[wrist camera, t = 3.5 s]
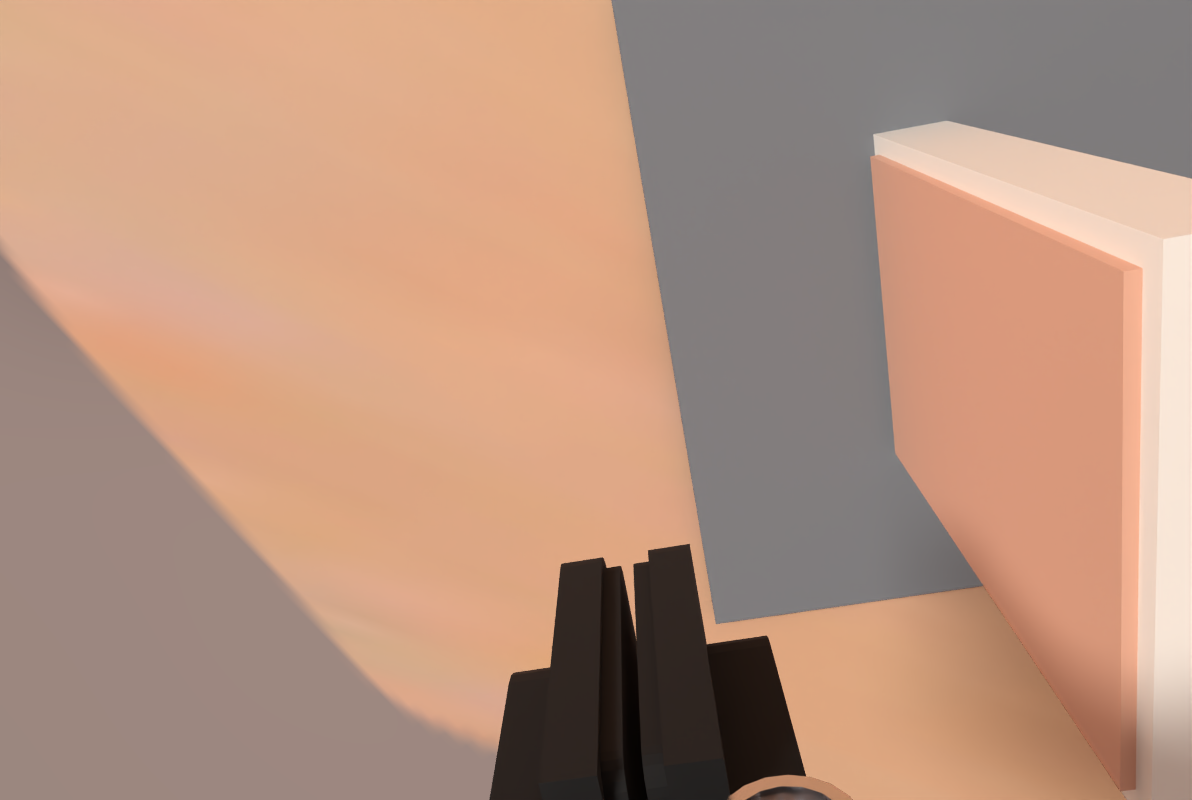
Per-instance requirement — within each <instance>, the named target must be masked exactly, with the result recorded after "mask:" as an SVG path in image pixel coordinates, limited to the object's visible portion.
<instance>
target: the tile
mask: <svg viewBox="0 0 1192 800" xmlns="http://www.w3.org/2000/svg"><path fill="white" fill-rule="evenodd" d="M873 137H874V149H875V156H870V160H871V172H872V184H873V196H874V208H875V220H876V232H877V243H878V255H879V267H880V279H881V291H882V303H883V315H884V326H885V338H886V350H887V362H888V374H889V386H890V398H891V409H892V421H893V433H894V445H895V454H896V455H897V457H898V458H899V460H900V461H901V463H902V464H903V466H904V467H905V469H906V470H907V472H908V473H909V475H910V476H911V478H912V479H913V481H914V482H915V484H916V485H917V487H918V488H919V490H920V491H921V493H922V494H923V496H924V497H925V499H926V500H927V502H928V503H929V505H930V506H931V508H932V509H933V511H934V512H935V514H936V515H937V517H938V518H939V520H940V521H941V523H942V524H943V526H944V527H945V529H946V530H947V532H948V533H949V535H950V536H951V538H952V539H953V541H954V542H955V544H956V545H957V547H958V548H959V550H960V551H961V553H962V554H963V556H964V557H965V559H966V560H967V562H968V563H969V565H970V566H971V568H972V569H973V571H974V572H975V574H976V575H977V577H978V578H979V580H980V581H981V583H982V584H983V586H984V587H985V589H986V590H987V592H988V593H989V595H990V596H991V598H992V599H993V601H994V602H995V604H996V605H997V607H998V608H999V610H1000V611H1001V613H1002V614H1003V616H1004V617H1005V619H1006V620H1007V622H1008V623H1009V625H1010V626H1011V628H1012V629H1013V631H1014V632H1015V634H1016V635H1017V637H1018V638H1019V640H1020V641H1021V643H1022V645H1023V646H1024V648H1025V649H1026V651H1027V652H1028V654H1029V655H1030V657H1031V658H1032V660H1033V661H1034V663H1035V664H1036V666H1037V667H1038V669H1039V670H1040V672H1041V673H1042V675H1043V676H1044V678H1045V679H1046V681H1047V682H1048V684H1049V685H1050V687H1051V688H1052V690H1053V691H1054V693H1055V694H1056V696H1057V697H1058V699H1059V700H1060V702H1061V703H1062V705H1063V706H1064V708H1065V709H1066V711H1067V712H1068V714H1069V715H1070V717H1071V718H1072V720H1073V721H1074V723H1075V724H1076V726H1077V727H1078V729H1079V730H1080V732H1081V733H1082V735H1083V736H1084V738H1085V739H1086V741H1087V742H1088V744H1089V745H1090V747H1091V748H1092V750H1093V751H1094V753H1095V754H1096V756H1097V757H1098V759H1099V760H1100V762H1101V763H1102V765H1103V766H1104V768H1105V769H1106V771H1107V772H1108V774H1109V775H1110V777H1111V778H1112V780H1113V781H1114V783H1115V784H1116V786H1117V787H1118V789H1119V790H1120V791H1121V792H1122V793H1123V795H1124V796H1125V798H1126V799H1127V800H1192V179H1191V178H1187V177H1183V176H1178V175H1174V174H1170V173H1166V172H1161V171H1157V170H1153V169H1149V168H1145V167H1140V166H1136V165H1132V164H1128V163H1123V162H1119V161H1115V160H1111V159H1107V158H1102V157H1098V156H1094V155H1090V154H1086V153H1081V152H1077V151H1073V150H1069V149H1064V148H1060V147H1056V146H1052V145H1048V144H1043V143H1039V142H1035V141H1031V140H1026V139H1022V138H1018V137H1014V136H1010V135H1005V134H1001V133H997V132H993V131H988V130H984V129H980V128H976V127H972V126H967V125H963V124H959V123H955V122H950V121H942V122H937V123H931V124H926V125H921V126H915V127H910V128H905V129H899V130H894V131H889V132H883V133H878V134H873Z"/></svg>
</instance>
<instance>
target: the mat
mask: <svg viewBox="0 0 1192 800" xmlns="http://www.w3.org/2000/svg"><path fill="white" fill-rule="evenodd" d="M612 6H613V12H614V18H615V24H616V30H617V36H618V42H619V48H620V54H621V60H622V66H623V72H624V78H625V84H626V90H627V95H628V101H629V107H630V113H631V119H632V125H633V131H634V137H635V143H636V149H637V155H638V161H639V167H640V173H641V179H642V185H643V191H644V197H645V203H646V209H647V215H648V221H649V227H650V233H651V239H652V245H653V251H654V257H655V263H656V269H657V275H658V281H659V287H660V293H661V298H662V304H663V310H664V316H665V322H666V328H667V334H668V340H669V346H670V352H671V358H672V364H673V370H674V376H675V382H676V388H677V394H678V400H679V406H680V412H681V418H682V424H683V430H684V436H685V442H686V448H687V454H688V460H689V466H690V472H691V478H692V484H693V490H694V495H695V501H696V507H697V513H698V519H699V525H700V531H701V537H702V543H703V549H704V555H705V561H706V567H707V573H708V579H709V585H710V591H711V597H712V603H713V609H714V615H715V621H716V624H720V623H726V622H733V621H740V620H747V619H754V618H761V617H768V616H775V615H782V614H789V613H796V612H803V611H810V610H817V609H824V608H831V607H838V606H845V605H852V604H859V603H866V602H873V601H880V600H887V599H894V598H901V597H908V596H915V595H922V594H929V593H936V592H943V591H950V590H957V589H964V588H971V587H978V586H983V584H982V583H981V581H980V580H979V578H978V577H977V575H976V574H975V572H974V571H973V569H972V568H971V566H970V565H969V563H968V562H967V560H966V559H965V557H964V556H963V554H962V553H961V551H960V550H959V548H958V547H957V545H956V544H955V542H954V541H953V539H952V538H951V536H950V535H949V533H948V532H947V530H946V529H945V527H944V526H943V524H942V523H941V521H940V520H939V518H938V517H937V515H936V514H935V512H934V511H933V509H932V508H931V506H930V505H929V503H928V502H927V500H926V499H925V497H924V496H923V494H922V493H921V491H920V490H919V488H918V487H917V485H916V484H915V482H914V481H913V479H912V478H911V476H910V475H909V473H908V472H907V470H906V469H905V467H904V466H903V464H902V463H901V461H900V460H899V458H898V457H897V455H896V454H895V445H894V433H893V421H892V409H891V398H890V386H889V374H888V362H887V350H886V338H885V326H884V315H883V303H882V291H881V279H880V267H879V255H878V243H877V232H876V220H875V208H874V196H873V184H872V172H871V160H870V156H875V149H874V137H873V134H878V133H883V132H889V131H894V130H899V129H905V128H910V127H915V126H921V125H926V124H931V123H937V122H942V121H950V122H955V123H959V124H963V125H967V126H972V127H976V128H980V129H984V130H988V131H993V132H997V133H1001V134H1005V135H1010V136H1014V137H1018V138H1022V139H1026V140H1031V141H1035V142H1039V143H1043V144H1048V145H1052V146H1056V147H1060V148H1064V149H1069V150H1073V151H1077V152H1081V153H1086V154H1090V155H1094V156H1098V157H1102V158H1107V159H1111V160H1115V161H1119V162H1123V163H1128V164H1132V165H1136V166H1140V167H1145V168H1149V169H1153V170H1157V171H1161V172H1166V173H1170V174H1174V175H1178V176H1183V177H1187V178H1191V179H1192V0H612Z"/></svg>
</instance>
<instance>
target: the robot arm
mask: <svg viewBox="0 0 1192 800" xmlns="http://www.w3.org/2000/svg"><path fill="white" fill-rule="evenodd" d="M648 557H649V562H643V563H636V564H634V590H635V614H636V636H635V631H634V626H633V621H632V616H631V611H630V606H629V601H628V596H627V590H626V585H625V580H624V576H623V571H622V568H621V566H617V567H611V568H606V564H605V561H604V558H596V559H590V560H583V561H577V562H570V563H564V564H561V568H560V578H559V588H558V598H557V607H556V617H555V627H554V637H553V646H552V656H551V666H550V668H543V669H537V670H530V671H523V672H516V673H513V674H512V675H511V678H510V682H509V686H508V692H507V698H506V704H505V710H504V716H503V722H502V728H501V734H500V740H499V746H498V752H497V758H496V764H495V770H494V777H493V782H492V789H491V794H490V800H853V799H852V798H851V797H850V796H849V795H847V794H846V793H844V792H843V791H841V790H840V789H838V788H837V787H835V786H834V785H832V784H830V783H827V782H824V781H821V780H818V779H815V778H812V777H806V774H805V771H804V767H803V763H802V759H801V756H800V752H799V748H798V745H797V741H796V737H795V734H794V730H793V726H792V723H791V719H790V715H789V712H788V708H787V704H786V701H785V697H784V693H783V689H782V686H781V682H780V678H779V675H778V671H777V667H776V664H775V660H774V656H773V653H772V649H771V645H770V642H769V639H768V637H767V636H761V637H754V638H747V639H740V640H734V641H727V642H720V643H713V644H706V638H705V632H704V626H703V620H702V614H701V609H700V603H699V597H698V591H697V585H696V579H695V573H694V567H693V562H692V556H691V550H690V544H686V545H680V546H673V547H667V548H660V549H654V550H648ZM636 638H637V641H636Z"/></svg>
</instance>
